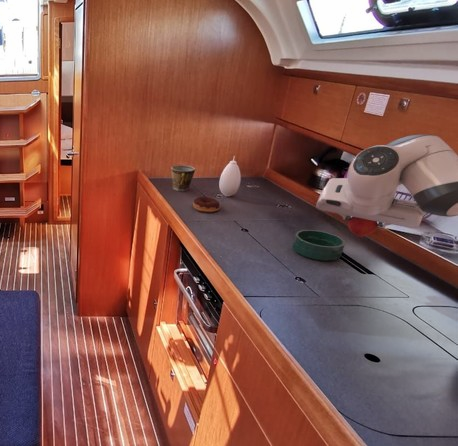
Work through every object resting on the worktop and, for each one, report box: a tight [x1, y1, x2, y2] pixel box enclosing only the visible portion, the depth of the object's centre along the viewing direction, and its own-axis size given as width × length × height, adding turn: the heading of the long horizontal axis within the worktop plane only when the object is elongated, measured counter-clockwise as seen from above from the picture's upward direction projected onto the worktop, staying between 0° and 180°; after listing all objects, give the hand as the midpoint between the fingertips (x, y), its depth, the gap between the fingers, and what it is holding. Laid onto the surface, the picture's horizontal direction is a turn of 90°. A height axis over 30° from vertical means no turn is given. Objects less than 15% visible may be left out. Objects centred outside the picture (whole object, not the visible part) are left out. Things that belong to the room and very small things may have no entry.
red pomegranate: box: [347, 216, 379, 238], centre depth 104 cm, size 6×6×8 cm
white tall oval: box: [218, 155, 242, 197], centre depth 167 cm, size 8×8×18 cm
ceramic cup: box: [170, 164, 196, 192], centre depth 179 cm, size 13×10×10 cm
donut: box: [192, 196, 221, 213], centre depth 158 cm, size 10×10×4 cm
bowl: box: [292, 229, 346, 262], centre depth 122 cm, size 12×12×5 cm
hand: (363, 221), depth 104 cm, fingers closed on red pomegranate, 6 cm apart
